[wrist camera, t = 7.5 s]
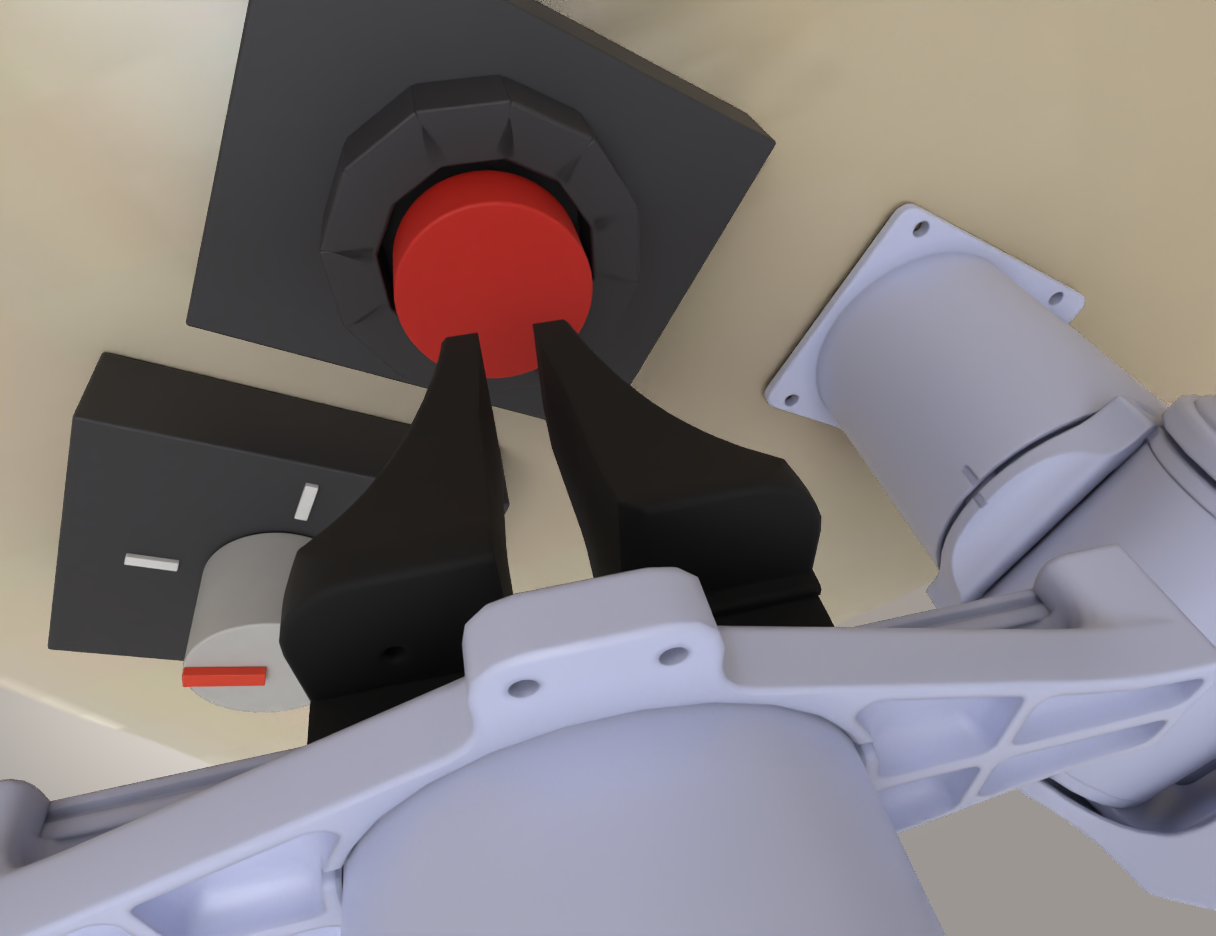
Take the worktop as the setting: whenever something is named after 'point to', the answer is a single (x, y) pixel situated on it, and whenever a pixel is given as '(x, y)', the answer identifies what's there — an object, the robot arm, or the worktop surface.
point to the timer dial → (244, 627)
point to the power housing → (453, 171)
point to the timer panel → (190, 494)
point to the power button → (488, 268)
